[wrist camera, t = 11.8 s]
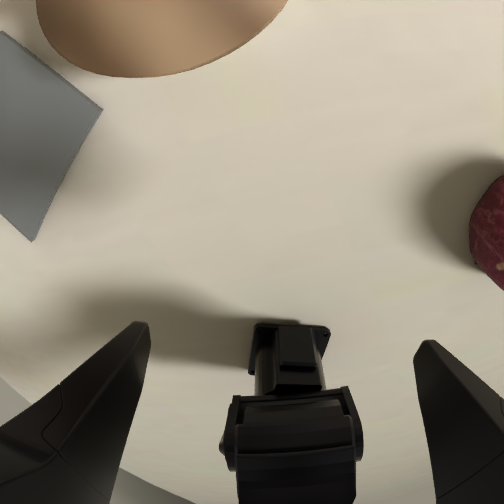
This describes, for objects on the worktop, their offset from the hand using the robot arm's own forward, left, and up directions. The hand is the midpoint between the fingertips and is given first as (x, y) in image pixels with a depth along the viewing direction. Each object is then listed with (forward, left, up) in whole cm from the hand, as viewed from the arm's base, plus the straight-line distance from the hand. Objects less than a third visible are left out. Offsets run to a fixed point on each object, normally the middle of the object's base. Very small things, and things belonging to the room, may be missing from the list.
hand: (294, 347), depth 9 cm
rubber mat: (+4, +21, -13) cm, 25 cm away
